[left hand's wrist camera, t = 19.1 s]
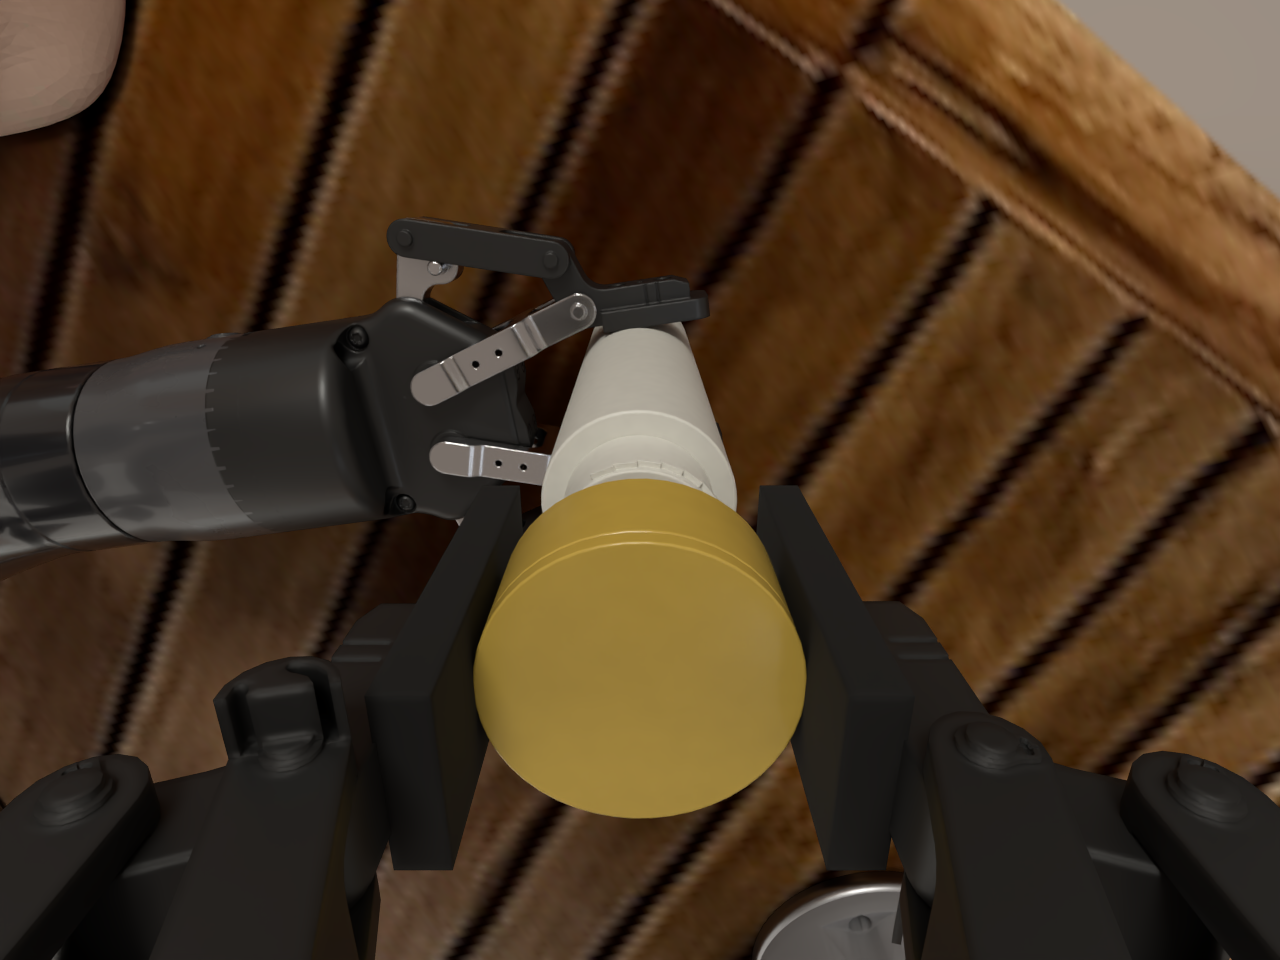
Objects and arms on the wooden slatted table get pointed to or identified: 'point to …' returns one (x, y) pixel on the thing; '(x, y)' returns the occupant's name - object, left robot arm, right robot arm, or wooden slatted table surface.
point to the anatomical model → (55, 58)
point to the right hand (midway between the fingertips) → (711, 371)
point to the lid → (639, 653)
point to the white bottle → (639, 418)
